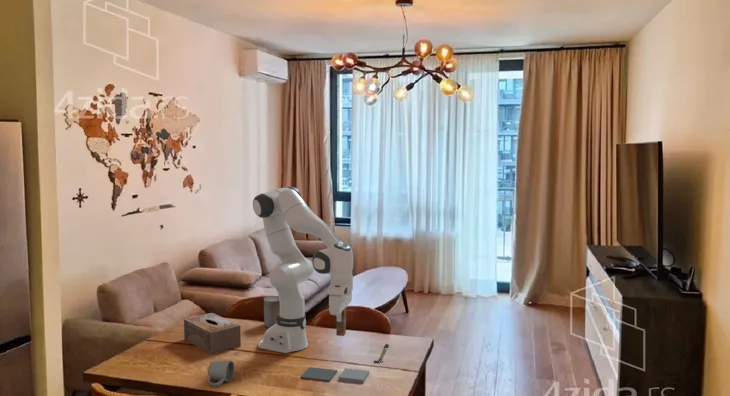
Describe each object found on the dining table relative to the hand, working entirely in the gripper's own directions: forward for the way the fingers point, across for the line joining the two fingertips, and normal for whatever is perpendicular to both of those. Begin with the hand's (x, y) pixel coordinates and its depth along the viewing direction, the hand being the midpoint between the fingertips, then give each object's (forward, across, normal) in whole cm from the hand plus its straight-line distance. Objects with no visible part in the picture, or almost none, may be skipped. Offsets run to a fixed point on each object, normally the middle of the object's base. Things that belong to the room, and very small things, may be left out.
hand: (340, 319), depth 225 cm
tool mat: (+22, +3, -8) cm, 24 cm away
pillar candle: (+24, -50, -49) cm, 74 cm away
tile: (+22, -3, +6) cm, 23 cm away
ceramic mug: (+24, +18, -43) cm, 52 cm away
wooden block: (+6, 0, 0) cm, 6 cm away
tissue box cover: (+24, -19, -66) cm, 73 cm away
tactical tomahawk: (+23, -25, +14) cm, 36 cm away
